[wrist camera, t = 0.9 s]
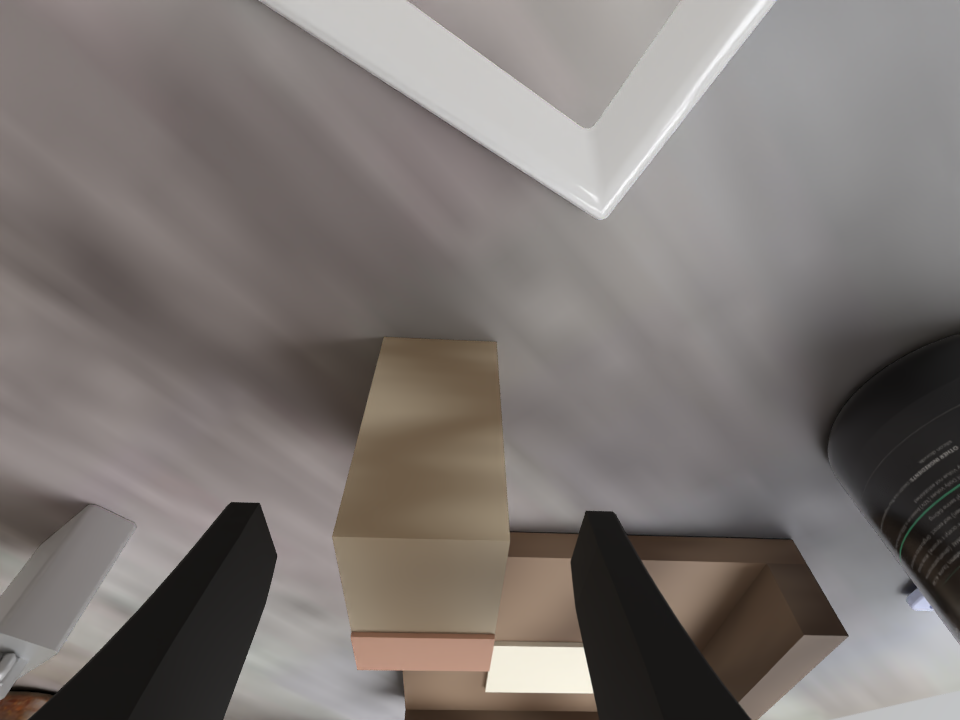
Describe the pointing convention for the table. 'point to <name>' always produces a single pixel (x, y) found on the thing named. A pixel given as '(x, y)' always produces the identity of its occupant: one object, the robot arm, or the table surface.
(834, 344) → the table surface
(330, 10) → the dessert
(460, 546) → the maple block
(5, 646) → the lighter
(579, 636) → the corner board
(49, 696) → the sauce bottle
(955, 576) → the supplement bottle
